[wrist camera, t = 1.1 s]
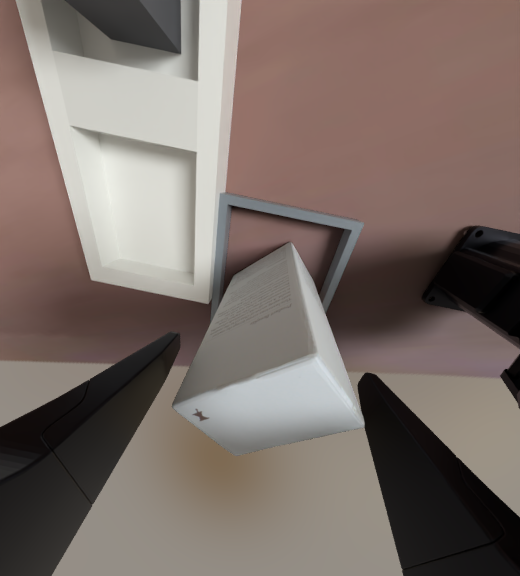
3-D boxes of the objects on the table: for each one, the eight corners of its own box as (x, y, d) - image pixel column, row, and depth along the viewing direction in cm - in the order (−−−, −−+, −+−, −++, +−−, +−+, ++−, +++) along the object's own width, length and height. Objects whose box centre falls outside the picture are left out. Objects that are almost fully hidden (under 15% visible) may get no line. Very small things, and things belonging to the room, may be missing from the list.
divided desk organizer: (265, -279, 7) (258, -485, 5) (216, 289, 19) (208, 304, 16) (-8, -339, 7) (-140, -577, 5) (113, 268, 19) (91, 279, 16)
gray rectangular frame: (356, 219, 15) (364, 223, 13) (308, 337, 20) (310, 348, 19) (225, 192, 15) (219, 193, 13) (214, 318, 20) (209, 327, 19)
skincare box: (258, 308, 19) (232, 460, 9) (232, 274, 18) (163, 408, 7) (316, 279, 17) (371, 432, 7) (292, 238, 16) (315, 352, 5)
